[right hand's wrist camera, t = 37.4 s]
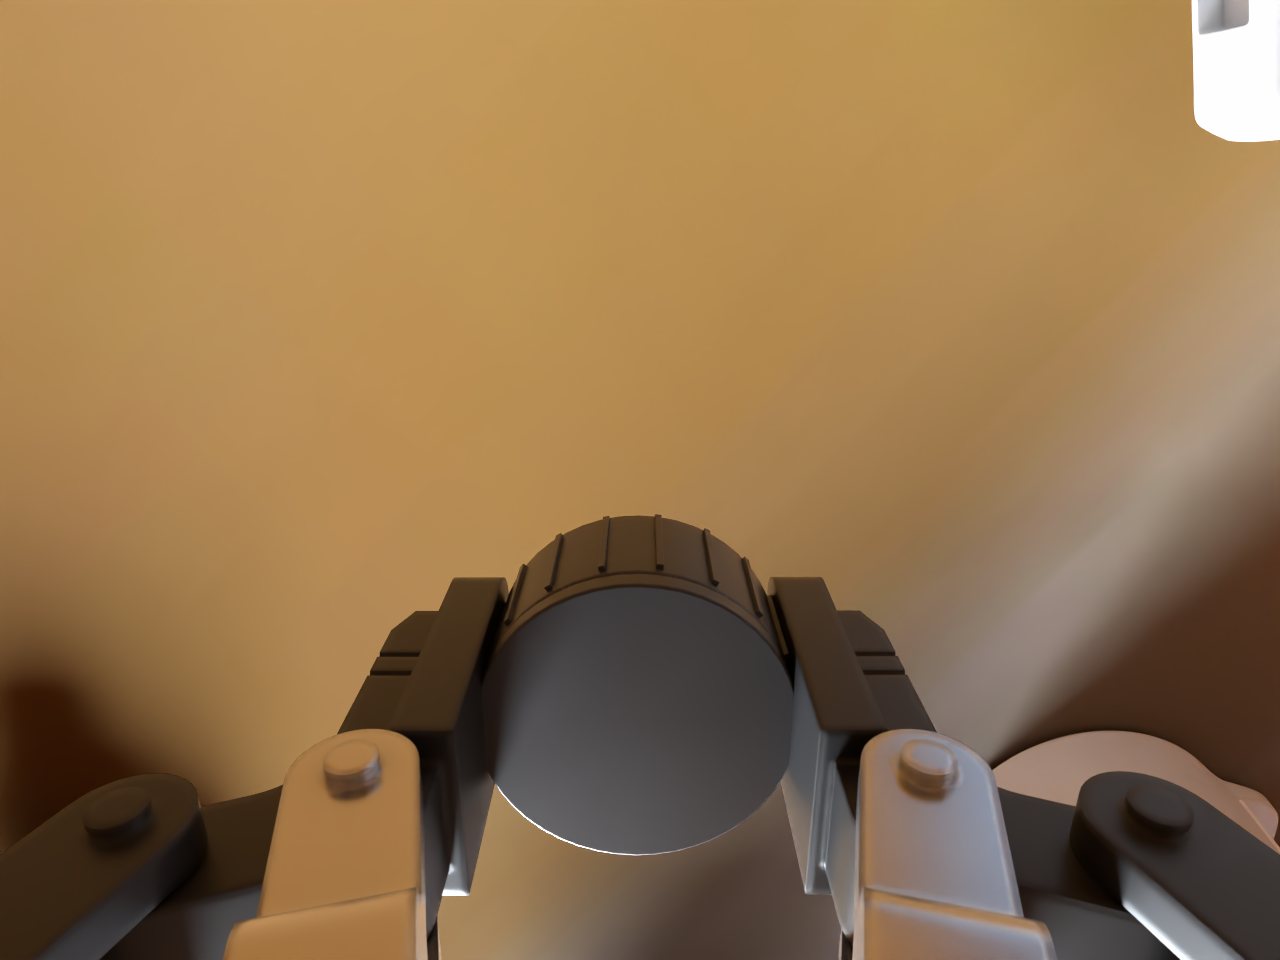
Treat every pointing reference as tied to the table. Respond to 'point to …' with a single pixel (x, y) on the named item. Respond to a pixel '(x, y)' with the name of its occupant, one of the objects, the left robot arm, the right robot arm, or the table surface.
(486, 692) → the cap
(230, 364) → the table surface
